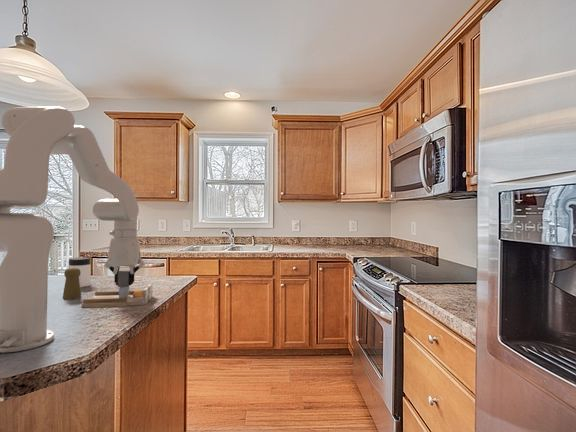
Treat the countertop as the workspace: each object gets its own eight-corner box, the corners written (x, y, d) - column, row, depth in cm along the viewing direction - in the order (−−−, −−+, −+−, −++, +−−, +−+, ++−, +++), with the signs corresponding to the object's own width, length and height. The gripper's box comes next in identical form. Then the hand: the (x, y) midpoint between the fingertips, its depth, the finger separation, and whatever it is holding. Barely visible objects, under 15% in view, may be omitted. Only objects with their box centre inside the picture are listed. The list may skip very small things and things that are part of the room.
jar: (81, 283, 152) (82, 256, 152) (95, 284, 149) (95, 257, 149) (62, 286, 144) (63, 259, 144) (76, 288, 141) (76, 260, 141)
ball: (134, 289, 121) (129, 299, 121) (145, 293, 122) (140, 303, 121) (137, 287, 125) (132, 297, 124) (147, 291, 125) (143, 301, 125)
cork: (72, 299, 122) (72, 270, 122) (58, 298, 124) (58, 269, 124) (85, 296, 128) (85, 267, 128) (71, 295, 130) (72, 266, 130)
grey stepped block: (126, 299, 119) (127, 272, 119) (115, 299, 118) (116, 272, 118) (132, 294, 126) (132, 269, 126) (121, 294, 125) (122, 269, 125)
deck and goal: (144, 305, 117) (144, 291, 117) (81, 307, 113) (81, 292, 113) (152, 296, 131) (153, 283, 131) (97, 297, 127) (97, 284, 127)
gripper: (96, 234, 117) (95, 287, 117) (147, 235, 120) (146, 286, 120) (104, 233, 124) (103, 283, 124) (151, 234, 127) (150, 282, 127)
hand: (124, 284), depth 122 cm, fingers closed on grey stepped block, 3 cm apart
